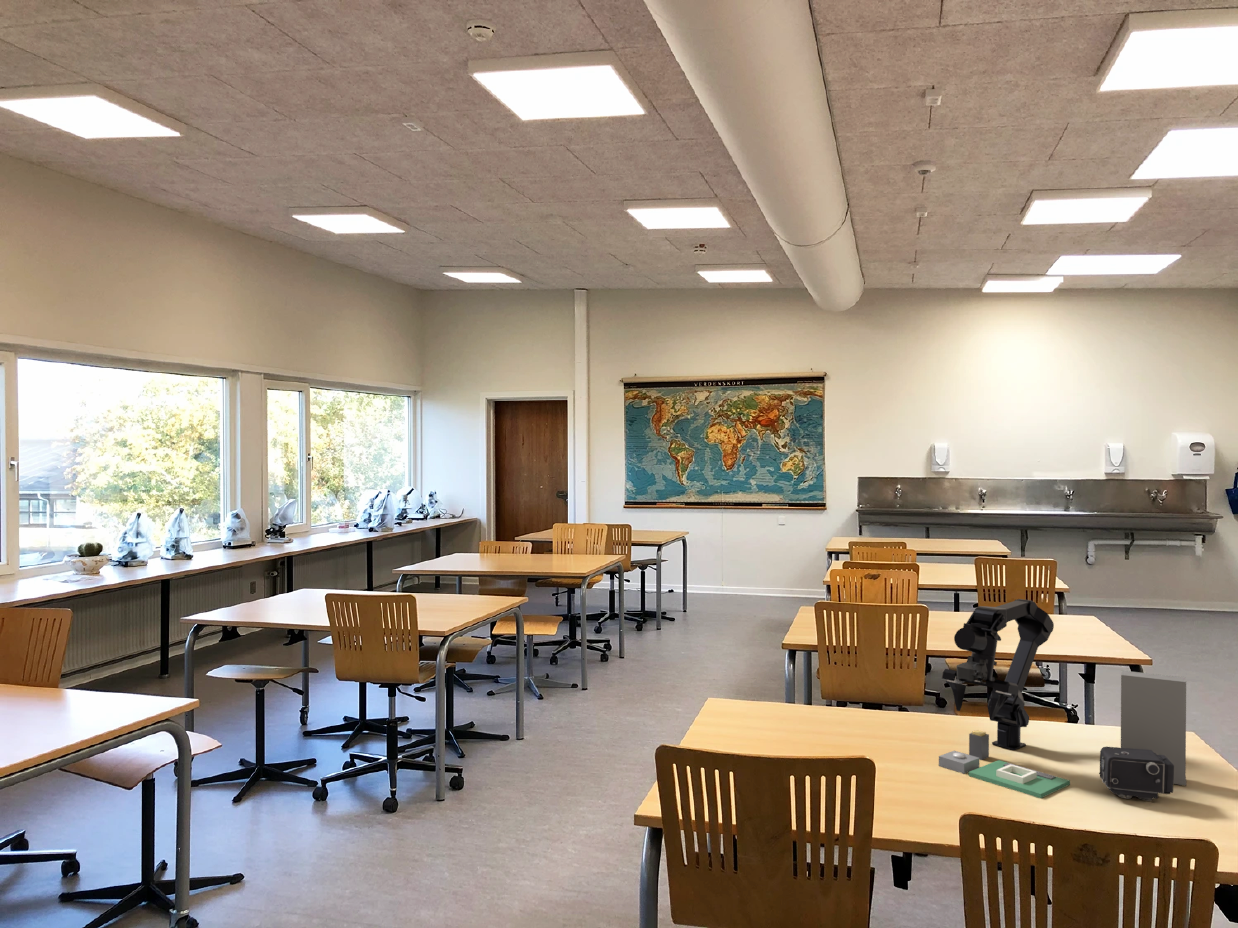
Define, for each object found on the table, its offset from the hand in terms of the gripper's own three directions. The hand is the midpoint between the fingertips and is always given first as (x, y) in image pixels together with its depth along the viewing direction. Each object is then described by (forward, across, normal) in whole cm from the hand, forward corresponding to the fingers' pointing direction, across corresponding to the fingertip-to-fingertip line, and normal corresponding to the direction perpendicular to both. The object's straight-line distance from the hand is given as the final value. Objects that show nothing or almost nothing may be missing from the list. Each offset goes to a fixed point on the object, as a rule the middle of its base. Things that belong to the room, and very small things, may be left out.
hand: (974, 714), depth 231 cm
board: (+12, +15, -2) cm, 20 cm away
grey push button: (+13, +1, -5) cm, 14 cm away
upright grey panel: (+5, +34, +25) cm, 42 cm away
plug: (+10, 0, +5) cm, 12 cm away
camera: (+10, +37, +8) cm, 39 cm away
